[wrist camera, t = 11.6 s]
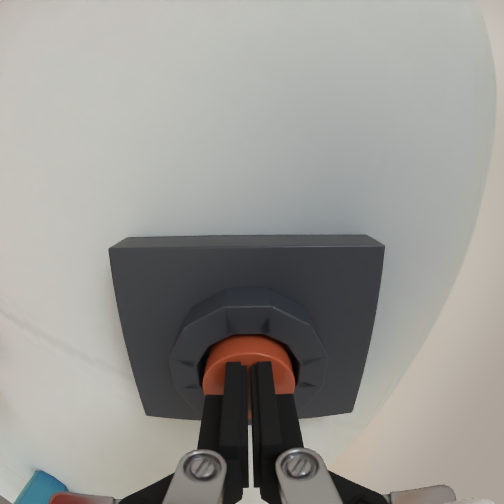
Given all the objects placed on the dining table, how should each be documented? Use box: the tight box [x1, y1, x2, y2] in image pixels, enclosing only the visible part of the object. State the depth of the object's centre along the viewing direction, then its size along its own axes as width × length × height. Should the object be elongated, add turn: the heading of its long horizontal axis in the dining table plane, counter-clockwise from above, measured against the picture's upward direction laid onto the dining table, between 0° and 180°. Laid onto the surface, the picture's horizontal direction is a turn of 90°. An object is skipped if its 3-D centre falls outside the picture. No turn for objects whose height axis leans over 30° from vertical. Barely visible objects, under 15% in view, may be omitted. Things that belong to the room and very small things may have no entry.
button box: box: [109, 235, 385, 425], centre depth 13 cm, size 12×10×4 cm
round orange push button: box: [202, 334, 295, 419], centre depth 11 cm, size 4×4×2 cm
